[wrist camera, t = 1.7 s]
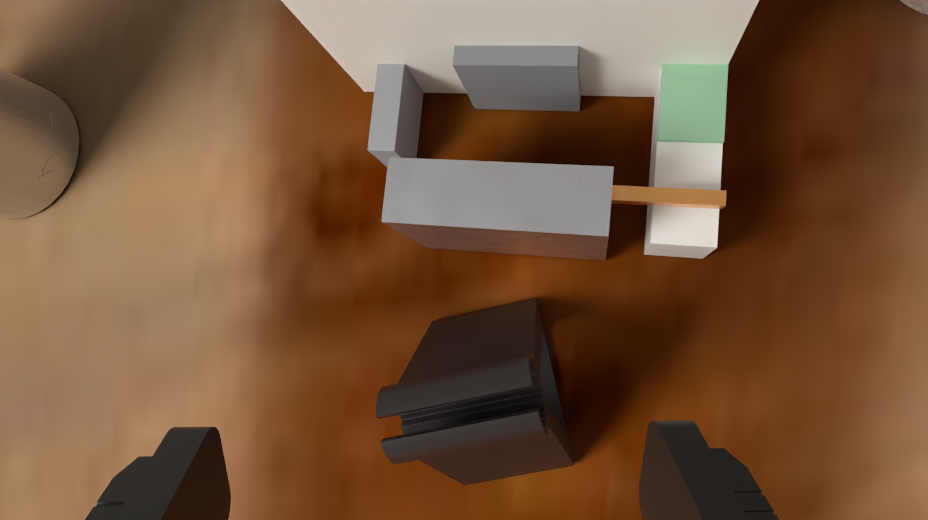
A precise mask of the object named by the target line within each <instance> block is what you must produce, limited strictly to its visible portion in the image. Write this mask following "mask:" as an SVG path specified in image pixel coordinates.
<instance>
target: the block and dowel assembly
mask: <svg viewBox="0 0 928 520" xmlns="http://www.w3.org/2000/svg"><path fill="white" fill-rule="evenodd" d="M613 171H614V166H590V165H565V164H541V163H517V162H493V161H468V160H444V159H420V158H396V157H389V159H388V168H387V177H386V186H385V194H384V203H383V212H382V221H381V222H382V223H384V224H386V225H388V226H389V227H391V228H393V229H395V230H396V231H398V232H400V233H402V234H403V235H405V236H407V237H409V238H410V239H412V240H414V241H416V242H417V243H419V244H421V245H423V246H425V247H426V248H436V249H450V250H464V251H478V252H492V253H506V254H520V255H534V256H548V257H562V258H576V259H590V260H604V261H605V259H606V252H607V245H608V238H609V225H610V212H611V203H617V204H635V205H654V206H673V207H692V208H711V209H723V208H724V207H725V206H726V193H727V191H726V190H705V189H684V188H662V187H641V186H620V185H613Z"/></svg>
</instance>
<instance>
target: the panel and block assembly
mask: <svg viewBox="0 0 928 520" xmlns="http://www.w3.org/2000/svg"><path fill="white" fill-rule="evenodd" d="M281 1H282V2H283V3H284V4H285V5H286V6H287V8H288V9H289V10H290V11H291V12H292V13H293V14H294V15H295V16H296V17H297V18H298V20H299V21H300V22H301V23H302V24H303V25H304V26H305V27H306V28H307V29H308V30H309V32H310V33H311V34H312V35H313V36H314V37H315V38H316V39H317V40H318V41H319V43H320V44H321V45H322V46H323V47H324V48H325V49H326V50H327V51H328V52H329V53H330V55H331V56H332V57H333V58H334V59H335V60H336V61H337V62H338V63H339V64H340V65H341V67H342V68H343V69H344V70H345V71H346V72H347V73H348V74H349V75H350V76H351V78H352V79H353V80H354V81H355V82H356V83H357V84H358V85H359V86H360V87H361V88H362V90H363V91H364V92H374V99H373V107H372V116H371V124H370V133H369V141H368V151H369V152H370V153H371V154H373V155H374V156H375V157H376V158H377V159H378V160H380V161H381V162H382V163H383V164H384V165H385V166H387V167H388V159H389V157H396V158H417V150H418V141H419V131H420V122H421V113H422V104H423V95H424V93H465V94H468V96H469V98H470V100H471V102H472V104H473V106H474V108H475V109H497V110H539V111H580V101H581V96H626V97H655V98H654V113H653V128H652V143H651V158H650V173H649V187H662V188H684V189H705V190H720V188H721V169H722V151H723V143H724V136H725V117H726V99H727V80H728V64H729V62H730V60H731V58H732V56H733V54H734V52H735V50H736V47H737V45H738V43H739V41H740V39H741V37H742V35H743V33H744V31H745V29H746V27H747V25H748V23H749V21H750V19H751V16H752V14H753V12H754V10H755V8H756V6H757V4H758V2H759V0H281ZM718 224H719V209H711V208H692V207H673V206H654V205H647V217H646V232H645V247H644V255H657V256H672V257H686V258H701V259H703V258H704V257H706V256H707V255H708V254H710V253H711V252H712V251H713V250H715V249H716V248H717V242H718Z"/></svg>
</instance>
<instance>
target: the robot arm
mask: <svg viewBox="0 0 928 520" xmlns="http://www.w3.org/2000/svg"><path fill="white" fill-rule="evenodd" d="M78 152H79V134H78V127H77V124H76V121H75V118H74V115H73V113H72V112H71V110H70V108H69V107H68V105H67V104H66V103H65V102H64V101H63V100H62V99H61V98H60V97H59V96H57V95H56V94H54V93H52V92H50V91H49V90H47V89H44V88H42V87H40V86H38V85H36V84H34V83H31V82H29V81H27V80H25V79H23V78H21V77H18V76H16V75H14V74H12V73H10V72H8V71H5V70H3V69H1V68H0V218H3V219H20V218H26V217H29V216H31V215H33V214H36V213H38V212H40V211H41V210H43V209H44V208H46V207H47V206H49V205H50V204H51V203H52V202H53V201H54V200H55V199H56V198H57V197H58V196H59V195H60V194H61V193H62V191H63V190H64V188H65V187H66V185H67V184H68V182H69V180H70V178H71V176H72V174H73V172H74V169H75V166H76V162H77V158H78ZM639 500H640V508H641V513H642V517H643V520H779V519H778V517H777V516H776V515H774V514H773V509H772V507H771V506H770V504H769V503H768V501H767V499H766V498H765V496H762V494H761V490H760V488H759V486H758V485H757V483H756V481H755V480H754V478H753V477H752V475H751V473H750V472H749V470H748V468H747V467H745V466H744V465H743V464H742V463H741V462H740V461H738V460H737V459H736V458H735V457H734V456H732V455H731V454H730V453H729V452H728V451H726V450H725V449H724V448H709V447H708V445H707V443H706V441H705V440H704V438H703V436H702V434H701V432H700V431H699V429H698V427H697V425H696V424H695V423H694V422H693V421H651V422H650V424H649V426H648V430H647V436H646V443H645V450H644V456H643V463H642V469H641V476H640V483H639ZM230 502H231V495H230V487H229V481H228V476H227V471H226V465H225V460H224V455H223V449H222V444H221V438H220V434H219V431H218V430H217V428H216V427H174V428H171V429H170V430H169V431H168V433H167V434H166V436H165V437H164V439H163V440H162V442H161V444H160V445H159V447H158V448H157V450H156V452H155V453H154V455H153V456H152V457H138V458H137V459H136V460H134V461H133V462H132V463H131V464H129V465H128V466H127V467H126V468H125V469H123V470H122V471H121V472H120V473H118V474H117V475H116V476H115V477H114V478H113V479H112V480H111V482H110V483H109V485H108V486H107V488H106V489H105V491H104V492H103V494H102V495H101V497H100V498H99V500H98V501H97V506H96V507H93V509H92V510H91V512H90V513H89V515H88V516H87V518H86V519H85V520H228V518H229V512H230Z"/></svg>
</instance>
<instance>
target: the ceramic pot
mask: <svg viewBox="0 0 928 520" xmlns="http://www.w3.org/2000/svg"><path fill="white" fill-rule="evenodd" d="M900 1H901V2H903V3H904V4H905V5H907V6H909V7H910V8H912V9H913V10H915V11H918V12H920V13H922V14H924V15H927V16H928V0H900Z"/></svg>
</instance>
